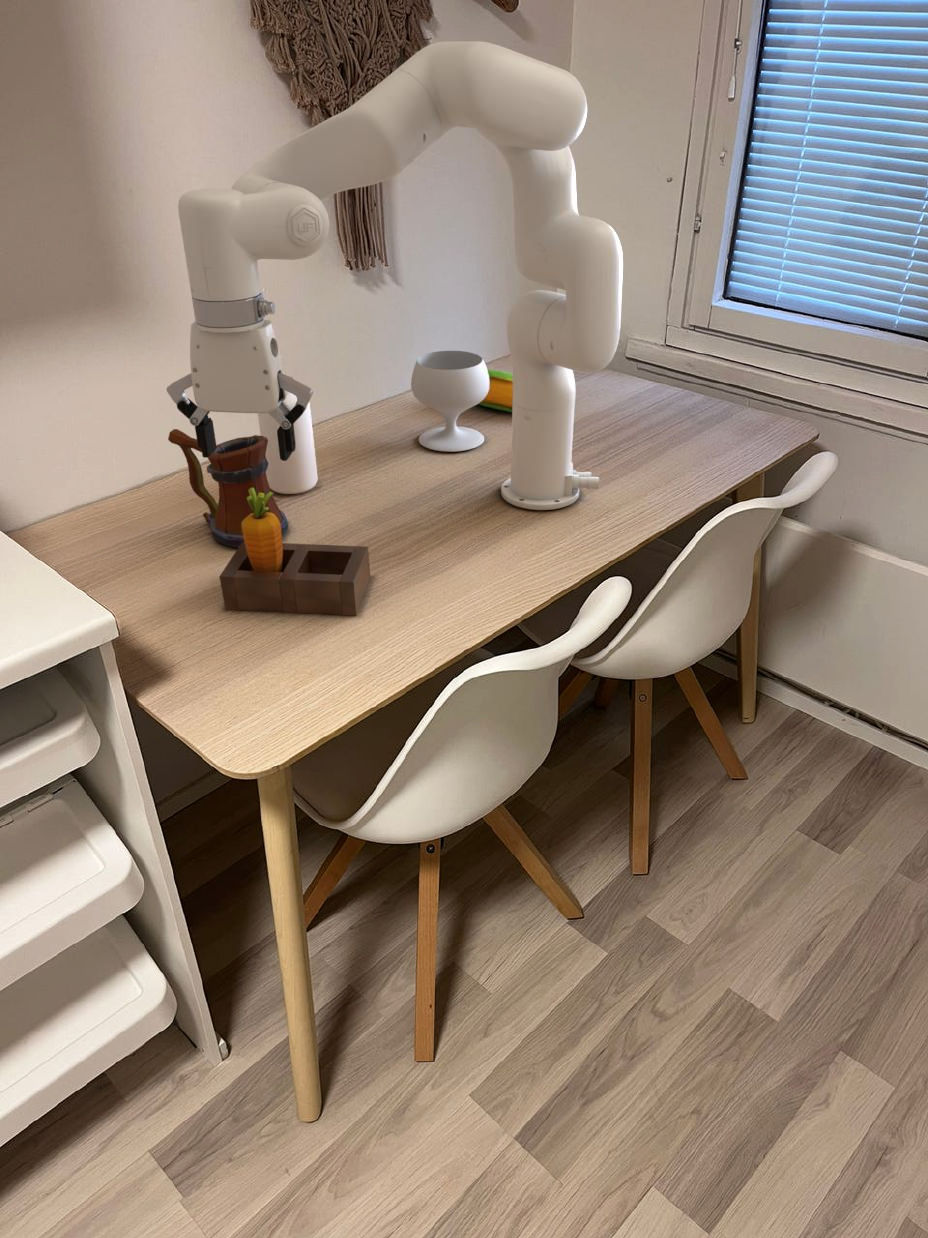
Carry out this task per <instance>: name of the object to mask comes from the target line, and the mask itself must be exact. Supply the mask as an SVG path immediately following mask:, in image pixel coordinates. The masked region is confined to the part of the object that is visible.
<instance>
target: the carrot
mask: <svg viewBox="0 0 928 1238" xmlns="http://www.w3.org/2000/svg"><path fill="white" fill-rule="evenodd" d="M249 494H250V496H248V497H247V500H248V503H249V506H250V507H251V509H252V511H253V513H251V514H250V515H248V516H247V517H246V518H245V519H244V520H243V521H242V524H241V525H242V532H243V537H244V542H245V547H246V551H247V555H248V558H249V560H250V563H251V566H252V568H253V571H266V572H281V569H282V558H283V546H282V543H283V536H282V533H281V525H280V522H279V520H278V518H277V517H276V516H275V515H274V514H273V513H269V512H267V511H268V509H269V508H268V507H265V505H266V503H267V501H268V499H269V498H270V497H271V496H273V495H274V491H273V492H272V491H270V492H269V493H268V494H267V495H266V496H265V497H264V493H259V494H258V496H256V492H255V490H254V488H250V489H249Z"/></svg>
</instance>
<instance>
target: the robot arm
mask: <svg viewBox="0 0 928 1238" xmlns="http://www.w3.org/2000/svg"><path fill="white" fill-rule="evenodd" d="M587 101H588V100H587V96H586V93H585V90H584V88H583V86H582V84H581V83H580V81H579V80H578V79H577V77H576V76H575V75H573V74H572V73H571V72H569V71H567V70H565V69H563V68H561V67H559V66H555V65H553V64H550V63H547V62H545V61H541V60H538V59H536V58H535V57H531V56H529V55H527V54H526V55H525V54H523V53H520V52H518V51H515V50H512V49H510V48H507V47H505V46H501V45H498V44H495V43H493V42H492V43H491V42H487V41H482V40H471V41H469V40H468V41H466V40H465V41H464V40H462V41H460V40H459V41H438V42H437V41H436V42H434V43H431V44H428V45H426V46H424V47H422V48H421V49H420V50H418V51H417V52H416V53H414V54H413V55H412V56H411V57H410V58H408V59H407V60H406V61H404V63H402V64H401V65H399V66H398V67H397V68H396V69H395V70H393V71H392V72H391V73H390V74H389V75H388V76H386V77H385V78H384V79H383V80H381V81H380V82H379V83H378V84H376V85H375V86H374V87H373V88H372V89H371V90H369V91H368V92H367V93H365V94H364V95H363V96H362V97H361V98H359V99H358V100H357V101H356V102H354V103H353V104H352V105H351V106H349V107H348V108H346V109H345V110H343V111H341V112H339V113H337V114H335V115H333V116H331V117H329V118H327V119H326V120H323V121H322V122H319V123H318V124H317V125H315V126H313V127H311V128H310V129H307V130H306V131H303V132H301V133H300V134H297V135H296V136H294V137H292V138H290V139H289V140H286V141H285V142H283V143H281V145H279V146H277V147H276V148H274V149H273V150H271V151H270V152H269V153H268V154H267V155H265V156H263V158H261V159H260V160H259V161H258V162H256V163H255V164H254V165H253V166H252V167H250V168H249V169H247V171H246V172H244V173H243V174H242V175H241V176H239V178H238V179H237V180H236V181H235V182H234V183H233V185H232V186H231V188H200V189H194V190H190V191H187V192H185V193H183V194H182V195H181V196H180V197H179V199H178V202H177V203H178V204H177V206H178V207H177V208H178V218H179V223H180V230H181V236H182V242H183V249H184V256H185V262H186V269H187V275H188V281H189V287H190V294H191V301H192V302H191V303H192V308H193V314H194V319H195V320H194V321H193V322H192V324H191V325H190V337H189V346H190V347H189V359H190V360H189V361H190V373H189V374H187V375H184V376H183V377H181V378H179V379H178V380H175V381H174V382H172V383H170V384H169V385H168V386H167V387H166V393H167V394H168V395H169V397H170V398H171V400H172V401H173V403H175V404H176V408H177V410H178V411H179V412H180V413H181V414H183V415H184V416H185V417H186V419H188V420H189V423H190V425H191V426H194V430H195V436H196V439H197V443H198V447H199V448H201V450H202V452H201V454H202V455H201V456H202V458H203V459H204V458H207V459H208V457H210V455H211V454H212V453H213V452H214V451H215V450H216V448H217V439H216V433H215V427H214V422H213V419H212V418H211V417H209V414H210V413H211V412H213V413H231V414H233V413H234V414H258V413H269V414H270V415H271V416H272V417H273V418H274V419H275V421H276V422H277V423H278V424H279V425H280V427H279V428H278V430H277V436H278V445H279V453H280V459H281V460H282V461H287V460H288V458H289V457H290V455H291V454H292V452H294V451H295V448H296V443H295V434H294V423H295V421H296V420H297V419H298V418H299V417H300V416H301V415H302V414H303V413H304V411H305V410H306V407H307V405H308V403H309V402H310V400H311V398H312V396H313V393H314V391H313V389H312V388H311V387H309V386H307V385H305V384H304V383H302V382H301V381H299V380H296V379H295V378H293V377H292V378H293V379H292V378H290V377H291V376H290V377H288V376H289V375H287V374H286V373H285V369H284V364H283V360H282V354H281V350H280V346H279V341H278V338H277V335H276V331H275V328H274V325H273V322H272V321H271V320H269V319H265V318H266V316H268V315H274V314H275V313H276V312H275V311H276V306H275V302H274V301H268V300H267V299H266V300H265V298H264V294H263V292H262V291H261V283H260V282H261V281H260V274H259V264H258V261H259V260H287V261H288V260H289V261H295V260H301V259H305V258H308V257H310V256H312V255H314V254H316V253H317V252H318V251H319V250H320V249H322V247H323V246H324V244H325V243H326V241H327V239H328V236H329V232H330V219H329V214H328V211H327V208H326V206H325V205H324V203H323V202H322V201H321V200H324V199H326V198H328V197H330V196H333V195H335V194H338V193H341V192H345V191H348V190H354V189H358V188H365V187H370V186H372V185H376V184H379V183H382V182H385V181H388V180H390V179H393V178H394V177H396V176H397V175H398V174H400V173H401V172H402V171H403V170H405V168H406V167H407V166H409V165H410V164H411V163H412V162H413V161H415V159H416V158H418V157H419V156H420V155H421V154H423V153H424V152H425V151H426V150H427V149H429V147H431V146H432V145H433V144H435V142H437V141H438V140H439V139H441V138H442V137H443V136H444V135H445V134H446V133H447V132H449V131H450V130H451V129H454V128H457V127H458V128H459V127H461V128H468V129H469V128H470V129H476V130H477V132H478V133H479V134H480V135H481V136H482V137H483V138H484V139H486V140H487V141H488V142H490V144H492V145H493V146H494V147H495V148H496V149H497V151H499V153H500V154H501V156H502V157H503V159H504V161H505V163H506V165H507V167H508V170H509V173H510V178H511V184H512V185H511V186H512V197H513V224H514V225H513V227H514V252H515V253H514V254H515V262H516V263H515V264H516V267H517V269H518V271H519V273H520V274H521V275H522V276H523V277H524V278H526V279H527V280H529V281H531V282H533V283H537V284H540V285H544V286H547V287H551V288H555V289H559V290H563V291H565V294H564V293H561V292H556V291H552V290H546V289H536V290H530V291H527V292H525V293H524V294H522V295H521V296H520V297H518V298H516V300H515V301H514V303H513V304H512V306H511V308H510V310H509V313H508V317H507V323H506V332H507V334H506V335H507V341H508V348H509V353H510V360H511V368H512V374H513V402H512V409H511V410H512V412H511V453H510V454H511V455H510V456H511V459H510V460H511V461H510V462H511V463H510V477H509V478H507V479H506V480H505V481H504V482H503V483H502V484H501V486H500V487H501V489H500V490H501V491H500V495H501V497H502V498H503V500H504V501H505V502H507V503H508V504H510V505H513V506H515V507H517V508H521V509H526V510H532V511H550V510H558V509H563V508H566V507H568V506H570V505H572V504H574V503H576V502H577V500H578V499H579V497H580V489H588V490H599V489H600V488H599V487H600V476H592V472H591V471H582V472H581V471H577V469H575V470H574V462H572V457H573V456H572V455H573V440H574V438H573V437H574V422H575V408H576V407H575V404H576V380H575V375H574V372H576V373H581V374H587V375H588V374H595V373H599V372H601V371H602V370H604V369H605V368H606V367H608V365H609V364H610V363H611V361H612V360H613V358H614V356H615V354H616V351H617V348H618V345H619V342H620V335H621V322H622V300H623V299H622V298H623V278H624V277H623V275H624V274H623V273H624V270H623V269H624V258H623V249H622V245H621V241H620V239H619V237H618V234H617V233H616V231H615V229H614V228H613V227H612V226H611V225H610V224H609V223H607V222H605V221H603V220H601V219H599V218H595V217H591V216H585V215H580V213H579V211H578V199H577V177H576V166H575V160H574V157H573V154H572V150H571V148H570V145H572V144H573V143H574V142H575V141H576V140H577V139H578V137H579V136H580V135H581V133H582V132H583V129H584V127H585V124H586V121H587V115H588V102H587ZM191 387H192V391H193V397H194V401H195V403H194V401H192V400H191V399H190V398H189V397H187V394H186V393H185V391H186V390H187V389H190V388H191ZM287 391H288V392H290V393H291V394H293V395H295V396H296V397H297V402H296V404H295V406H294V407H293V408H292V410H291V409H290V408H289V407H288V406H287V405H286V403H285V402H284V400H285V399H286V396H287Z"/></svg>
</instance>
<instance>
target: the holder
mask: <svg viewBox="0 0 928 1238" xmlns="http://www.w3.org/2000/svg"><path fill="white" fill-rule="evenodd" d="M282 546H283V558H282V569H281V572H266V571H253V568H252V566H251V563H250V560H249V558H248V555H247V551H246V547H245V542H242V543H241V545H240V546H239V548H236V550H235V552H234V554H233V555H232V556H231V558H230V560H229V561H228V563H227V564H226V566H225V567H224V569H223V570H222V572H221V573H220V575H219V582H220V588H221V592H222V593H221V594H222V600H223V605H224V609H225V610H226V611H247V612H248V611H250V612H251V611H252V612H268V613H269V612H270V613H291V614H292V613H293V614H312V615H314V614H315V615H336V616H353V617H354V616H357V615H358V613H359V610H360V607H361V605H362V601H363V600H364V596H365V595H366V594H365V593H366V591H367V588H368V586H369V583H370V580H371V569H370V568H371V567H370V566H371V565H370V554H369V546H363V545H362V546H361V545H338V544H335V545H334V544H314V543H312V544H310V543H309V544H308V543H291V542H290V543H288V542H282Z"/></svg>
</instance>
